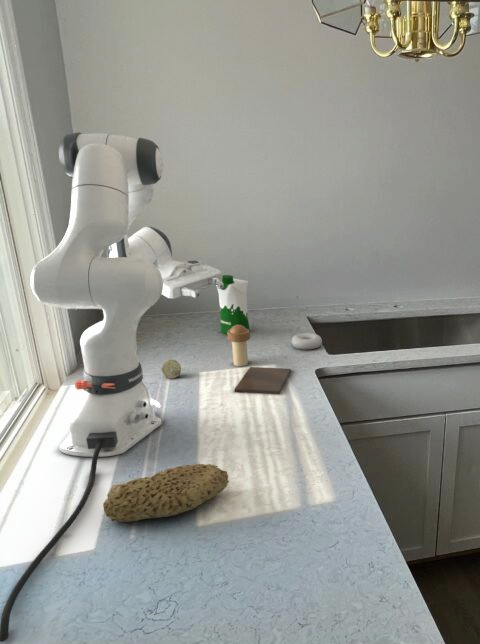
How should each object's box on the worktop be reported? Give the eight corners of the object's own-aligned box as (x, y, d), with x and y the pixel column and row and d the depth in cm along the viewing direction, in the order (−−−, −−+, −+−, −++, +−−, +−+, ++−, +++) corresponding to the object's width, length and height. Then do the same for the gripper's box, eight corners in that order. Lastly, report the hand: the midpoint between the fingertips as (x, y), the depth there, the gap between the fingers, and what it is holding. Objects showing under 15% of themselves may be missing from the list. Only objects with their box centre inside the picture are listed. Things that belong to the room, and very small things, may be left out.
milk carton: (216, 332, 193) (212, 275, 186) (236, 326, 200) (232, 271, 193) (234, 337, 189) (230, 279, 181) (254, 331, 196) (250, 274, 188)
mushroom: (248, 368, 164) (245, 329, 160) (226, 367, 165) (223, 328, 160) (253, 360, 170) (251, 322, 166) (233, 359, 170) (230, 321, 166)
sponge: (108, 540, 95) (224, 512, 96) (94, 499, 93) (212, 470, 95) (132, 506, 108) (234, 481, 109) (120, 469, 106) (224, 444, 107)
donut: (287, 349, 180) (316, 352, 178) (286, 339, 179) (316, 342, 177) (297, 340, 189) (326, 342, 187) (297, 330, 188) (325, 332, 186)
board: (279, 394, 148) (279, 391, 148) (234, 391, 149) (234, 389, 148) (290, 371, 163) (290, 368, 163) (250, 369, 164) (250, 366, 163)
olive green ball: (183, 377, 157) (182, 360, 155) (166, 381, 154) (164, 364, 152) (178, 372, 160) (176, 356, 158) (161, 376, 157) (159, 359, 155)
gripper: (147, 274, 160) (180, 289, 155) (202, 259, 176) (234, 272, 170) (149, 294, 163) (182, 310, 158) (203, 277, 179) (234, 291, 173)
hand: (209, 290), depth 164 cm, fingers open, 8 cm apart
